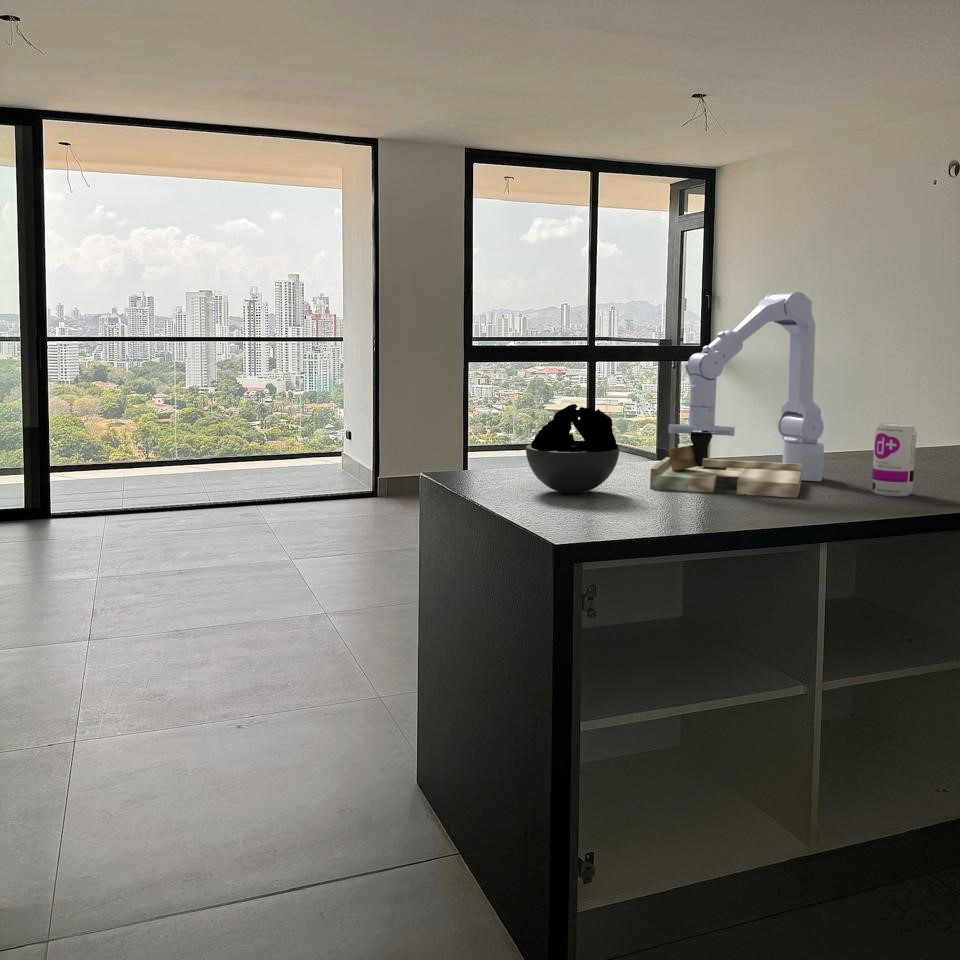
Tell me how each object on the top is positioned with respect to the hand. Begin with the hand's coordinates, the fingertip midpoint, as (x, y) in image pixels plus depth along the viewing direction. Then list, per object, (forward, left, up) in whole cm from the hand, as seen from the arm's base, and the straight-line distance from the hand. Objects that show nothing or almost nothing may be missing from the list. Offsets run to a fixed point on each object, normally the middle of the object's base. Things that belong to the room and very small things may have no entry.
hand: (699, 466), depth 223 cm
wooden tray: (-6, -1, -4) cm, 8 cm away
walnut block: (+3, 0, -1) cm, 3 cm away
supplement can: (-41, -3, -5) cm, 41 cm away
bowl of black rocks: (+24, +22, -5) cm, 33 cm away
